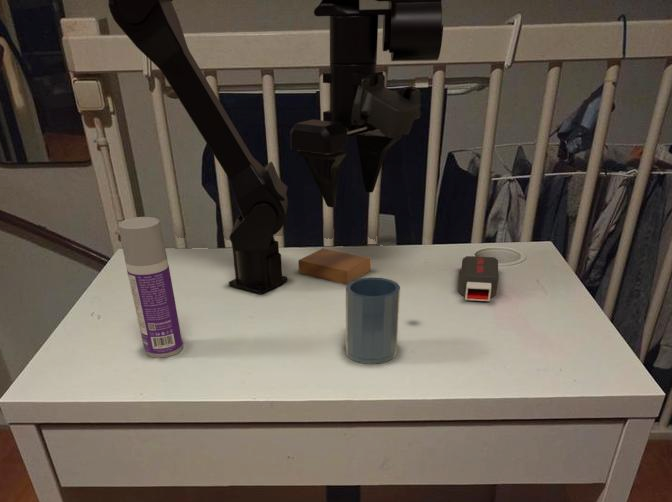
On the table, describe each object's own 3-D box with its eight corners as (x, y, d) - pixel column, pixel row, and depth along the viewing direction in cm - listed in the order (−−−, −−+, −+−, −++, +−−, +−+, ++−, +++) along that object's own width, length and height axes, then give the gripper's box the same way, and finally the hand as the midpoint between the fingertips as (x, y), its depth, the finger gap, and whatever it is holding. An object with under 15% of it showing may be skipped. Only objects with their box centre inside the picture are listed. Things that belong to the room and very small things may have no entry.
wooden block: (298, 273, 96) (298, 260, 95) (323, 260, 100) (322, 248, 99) (347, 284, 92) (347, 270, 90) (370, 271, 96) (370, 257, 94)
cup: (336, 355, 74) (335, 290, 69) (363, 337, 78) (364, 273, 73) (379, 368, 71) (382, 301, 66) (405, 348, 75) (409, 283, 70)
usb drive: (496, 272, 94) (498, 253, 92) (496, 303, 84) (499, 283, 83) (461, 270, 95) (463, 252, 93) (457, 301, 85) (459, 281, 84)
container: (189, 343, 78) (168, 217, 68) (171, 360, 74) (146, 230, 65) (157, 338, 79) (132, 215, 70) (137, 355, 76) (108, 227, 66)
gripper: (365, 73, 66) (361, 225, 75) (449, 58, 77) (436, 193, 87) (284, 68, 71) (290, 211, 81) (374, 55, 83) (369, 182, 92)
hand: (350, 199), depth 85 cm, fingers open, 9 cm apart
